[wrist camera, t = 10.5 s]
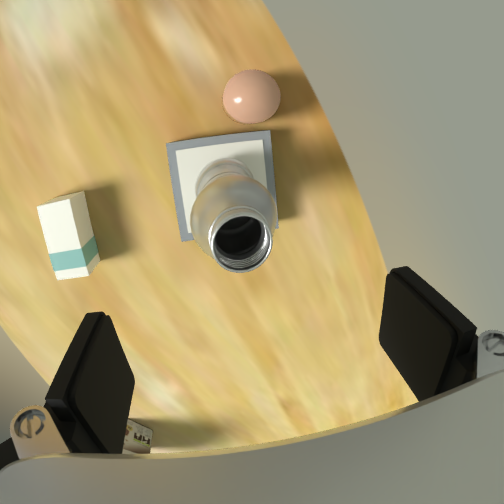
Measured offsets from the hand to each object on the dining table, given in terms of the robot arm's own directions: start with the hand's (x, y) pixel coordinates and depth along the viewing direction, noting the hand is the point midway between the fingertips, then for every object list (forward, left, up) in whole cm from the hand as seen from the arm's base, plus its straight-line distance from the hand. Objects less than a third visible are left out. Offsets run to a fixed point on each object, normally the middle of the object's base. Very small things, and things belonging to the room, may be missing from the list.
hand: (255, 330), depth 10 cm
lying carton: (+3, -21, -32) cm, 39 cm away
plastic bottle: (0, 0, -29) cm, 29 cm away
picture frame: (0, 0, -32) cm, 32 cm away
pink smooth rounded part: (-10, +4, -32) cm, 34 cm away
